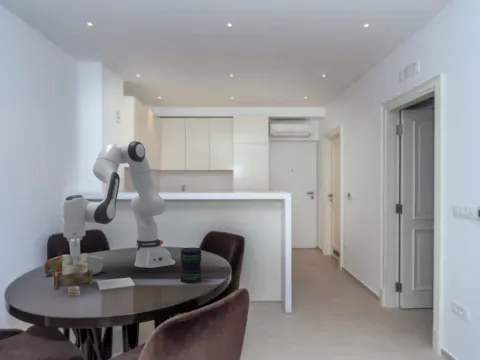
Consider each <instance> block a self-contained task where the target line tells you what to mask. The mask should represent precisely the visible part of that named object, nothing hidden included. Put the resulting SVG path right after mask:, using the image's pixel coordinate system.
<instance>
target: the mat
mask: <svg viewBox="0 0 480 360" xmlns="http://www.w3.org/2000/svg"><path fill="white" fill-rule="evenodd" d="M96 284H97V287H98V289H99V291H105V290H111V289H120V288H127V287H135V286H136V284H135V282H134V281H133V279H132V278H131V277H123V278H112V279H105V280H104V279H103V280H97V281H96Z"/></svg>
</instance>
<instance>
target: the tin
mask: <svg viewBox="0 0 480 360" xmlns="http://www.w3.org/2000/svg"><path fill="white" fill-rule="evenodd" d="M43 270H44V274H46V275H47V276H49V277H50V276H53V277H54V272H62V255H59V256H56V257H53V258H50V259H47V260H46V262H45V263H44V269H43Z"/></svg>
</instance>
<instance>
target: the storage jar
mask: <svg viewBox="0 0 480 360" xmlns="http://www.w3.org/2000/svg"><path fill="white" fill-rule="evenodd" d="M201 262H202V249H201V248H200V247H184V248H181V249H180V263H181V264H180V275H179V276H180V283H183V284H197V283H198V284H199V283H200V282H201V281H202V269H201V268H202V267H201V265H202V263H201Z"/></svg>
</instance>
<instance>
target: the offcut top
mask: <svg viewBox="0 0 480 360" xmlns="http://www.w3.org/2000/svg"><path fill="white" fill-rule="evenodd" d="M68 290H69V291H70V292H73V291H80V287H79V286H78V285H75V286H69V287H68Z"/></svg>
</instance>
